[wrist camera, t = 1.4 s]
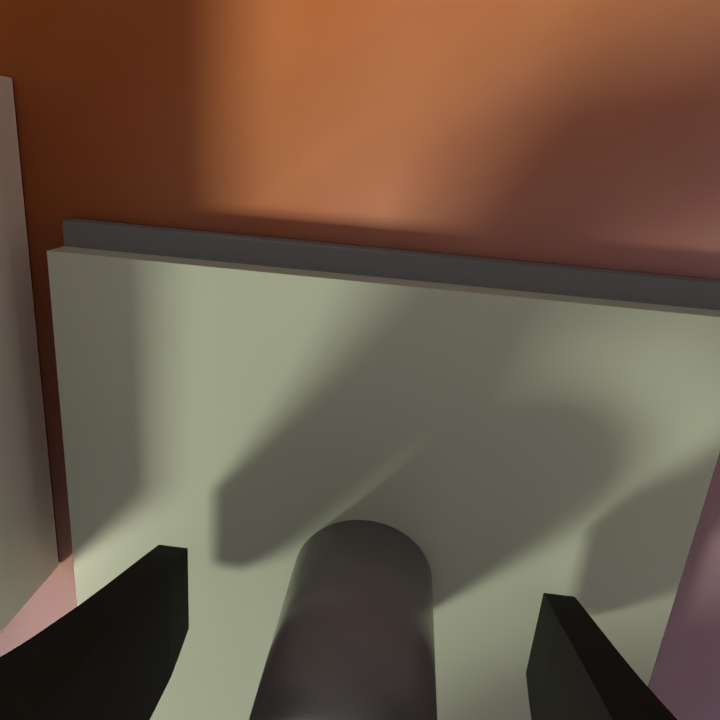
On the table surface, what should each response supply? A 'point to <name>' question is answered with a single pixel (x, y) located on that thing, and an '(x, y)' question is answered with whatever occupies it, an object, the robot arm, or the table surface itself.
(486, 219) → the table surface
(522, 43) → the table surface
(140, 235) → the mat
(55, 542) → the dish
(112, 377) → the lid
